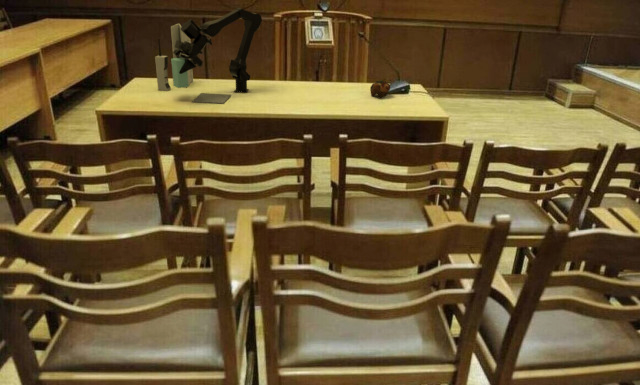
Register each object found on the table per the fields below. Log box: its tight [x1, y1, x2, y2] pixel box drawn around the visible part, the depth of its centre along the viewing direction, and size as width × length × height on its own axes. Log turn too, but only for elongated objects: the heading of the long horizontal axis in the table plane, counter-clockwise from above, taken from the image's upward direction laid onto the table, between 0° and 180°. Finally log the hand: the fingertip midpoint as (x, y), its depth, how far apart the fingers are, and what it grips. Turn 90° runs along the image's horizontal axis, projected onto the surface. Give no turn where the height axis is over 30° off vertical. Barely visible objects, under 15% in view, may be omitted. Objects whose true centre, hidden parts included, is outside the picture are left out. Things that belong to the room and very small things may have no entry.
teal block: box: [170, 58, 190, 89], centre depth 231 cm, size 5×5×12 cm
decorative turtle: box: [369, 80, 391, 99], centre depth 257 cm, size 10×15×8 cm, turn 155°
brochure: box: [170, 23, 194, 89], centre depth 259 cm, size 14×6×30 cm, turn 179°
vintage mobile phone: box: [154, 38, 172, 92], centre depth 247 cm, size 4×5×25 cm
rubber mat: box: [191, 92, 232, 105], centre depth 240 cm, size 16×15×1 cm
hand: (177, 72), depth 230 cm, fingers closed on teal block, 5 cm apart
